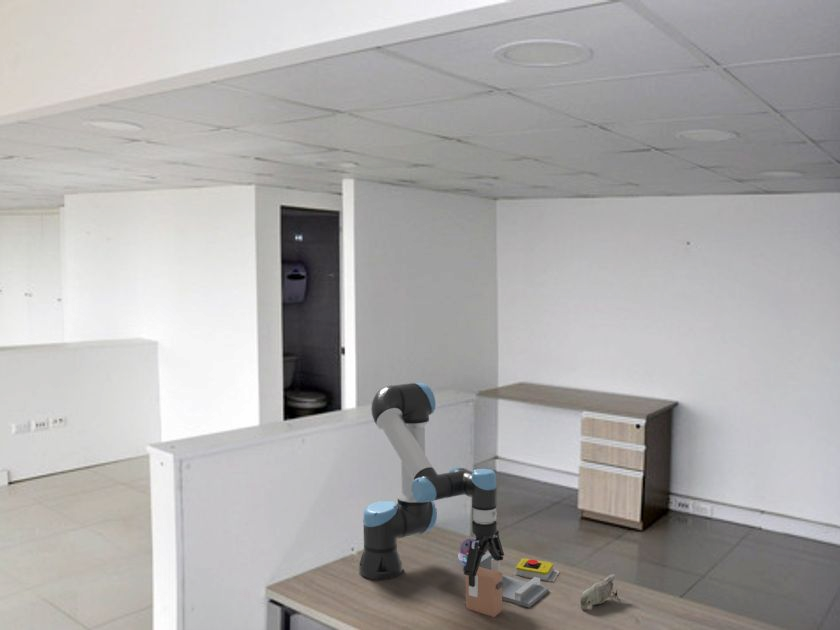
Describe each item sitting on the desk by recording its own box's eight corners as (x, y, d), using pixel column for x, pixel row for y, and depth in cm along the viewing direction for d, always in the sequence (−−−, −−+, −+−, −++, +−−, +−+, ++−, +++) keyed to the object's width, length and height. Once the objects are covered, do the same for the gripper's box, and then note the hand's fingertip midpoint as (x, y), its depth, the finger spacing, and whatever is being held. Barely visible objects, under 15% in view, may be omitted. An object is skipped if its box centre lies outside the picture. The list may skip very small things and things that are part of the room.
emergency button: (518, 553, 261) (560, 560, 255) (518, 565, 261) (560, 572, 255) (510, 563, 252) (553, 570, 246) (510, 575, 253) (553, 583, 247)
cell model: (454, 571, 255) (454, 544, 255) (462, 557, 267) (462, 532, 266) (482, 574, 253) (482, 547, 252) (489, 561, 264) (489, 535, 263)
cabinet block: (465, 608, 228) (466, 570, 227) (474, 602, 232) (474, 565, 231) (496, 617, 222) (496, 579, 221) (504, 611, 226) (504, 573, 225)
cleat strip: (514, 599, 231) (514, 592, 231) (534, 583, 242) (534, 576, 242) (520, 601, 230) (520, 593, 230) (540, 585, 241) (540, 578, 241)
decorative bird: (575, 608, 228) (575, 585, 228) (606, 593, 238) (607, 571, 238) (589, 614, 224) (589, 591, 223) (620, 599, 234) (621, 577, 234)
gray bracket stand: (473, 591, 240) (474, 561, 239) (494, 576, 251) (495, 547, 250) (529, 607, 228) (529, 576, 227) (548, 591, 239) (548, 561, 239)
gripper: (473, 534, 213) (474, 605, 214) (514, 511, 233) (514, 576, 234) (452, 529, 217) (452, 599, 218) (493, 507, 237) (494, 571, 239)
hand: (484, 587), depth 226 cm, fingers open, 13 cm apart
